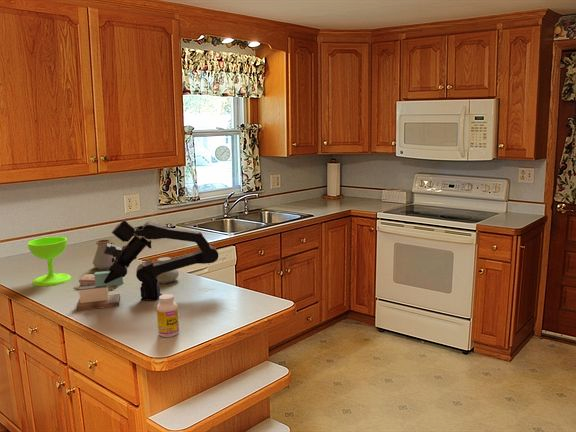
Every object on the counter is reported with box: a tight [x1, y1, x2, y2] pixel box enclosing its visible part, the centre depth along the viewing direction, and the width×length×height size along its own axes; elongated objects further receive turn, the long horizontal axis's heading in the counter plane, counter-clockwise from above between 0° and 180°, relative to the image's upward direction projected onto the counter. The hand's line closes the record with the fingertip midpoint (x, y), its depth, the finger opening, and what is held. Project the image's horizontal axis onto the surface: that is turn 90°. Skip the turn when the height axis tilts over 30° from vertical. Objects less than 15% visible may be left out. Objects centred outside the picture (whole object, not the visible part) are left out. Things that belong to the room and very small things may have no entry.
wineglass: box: [26, 236, 72, 287], centre depth 240 cm, size 16×16×18 cm
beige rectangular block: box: [78, 286, 109, 303], centre depth 209 cm, size 10×3×6 cm, turn 104°
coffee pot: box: [92, 239, 115, 271], centre depth 254 cm, size 21×12×15 cm, turn 33°
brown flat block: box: [76, 293, 121, 311], centre depth 210 cm, size 15×10×2 cm, turn 104°
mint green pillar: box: [93, 270, 124, 287], centre depth 209 cm, size 10×2×5 cm, turn 104°
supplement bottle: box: [156, 293, 180, 338], centre depth 178 cm, size 7×7×13 cm
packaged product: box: [73, 273, 125, 291], centre depth 231 cm, size 18×5×10 cm
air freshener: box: [156, 256, 179, 284], centre depth 234 cm, size 11×8×10 cm
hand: (105, 280), depth 209 cm, fingers open, 7 cm apart
